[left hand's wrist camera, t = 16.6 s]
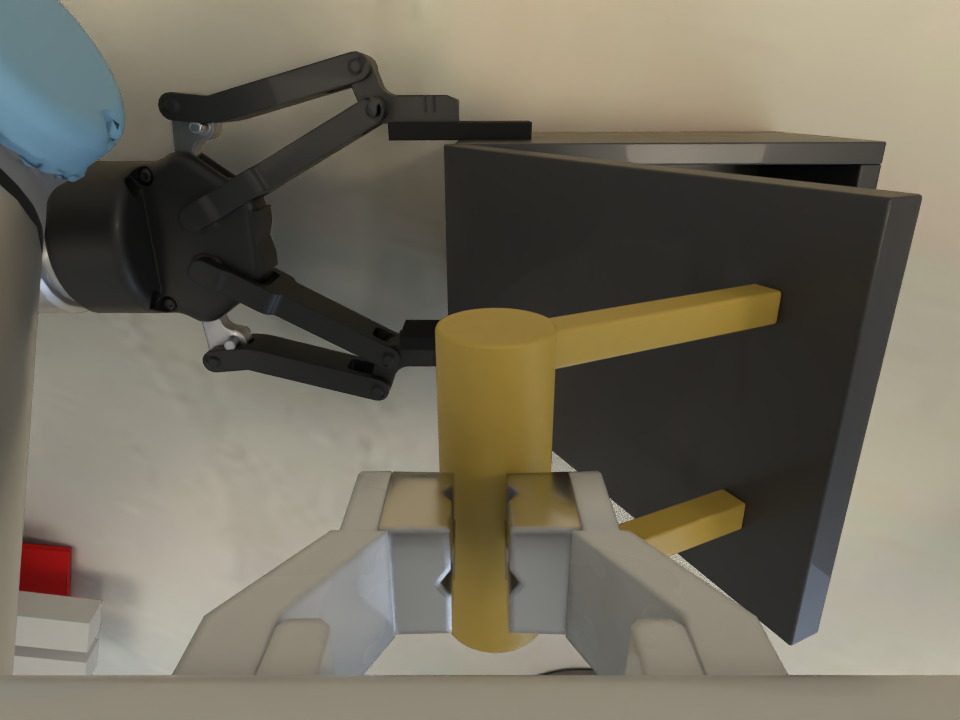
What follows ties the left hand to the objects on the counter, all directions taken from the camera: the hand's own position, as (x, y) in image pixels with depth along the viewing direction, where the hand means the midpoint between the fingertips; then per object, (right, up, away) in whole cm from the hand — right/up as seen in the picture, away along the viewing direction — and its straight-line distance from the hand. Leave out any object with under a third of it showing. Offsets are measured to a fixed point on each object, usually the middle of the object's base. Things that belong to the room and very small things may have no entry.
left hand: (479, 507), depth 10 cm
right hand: (+2, +8, +22) cm, 24 cm away
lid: (+3, +4, +10) cm, 11 cm away
